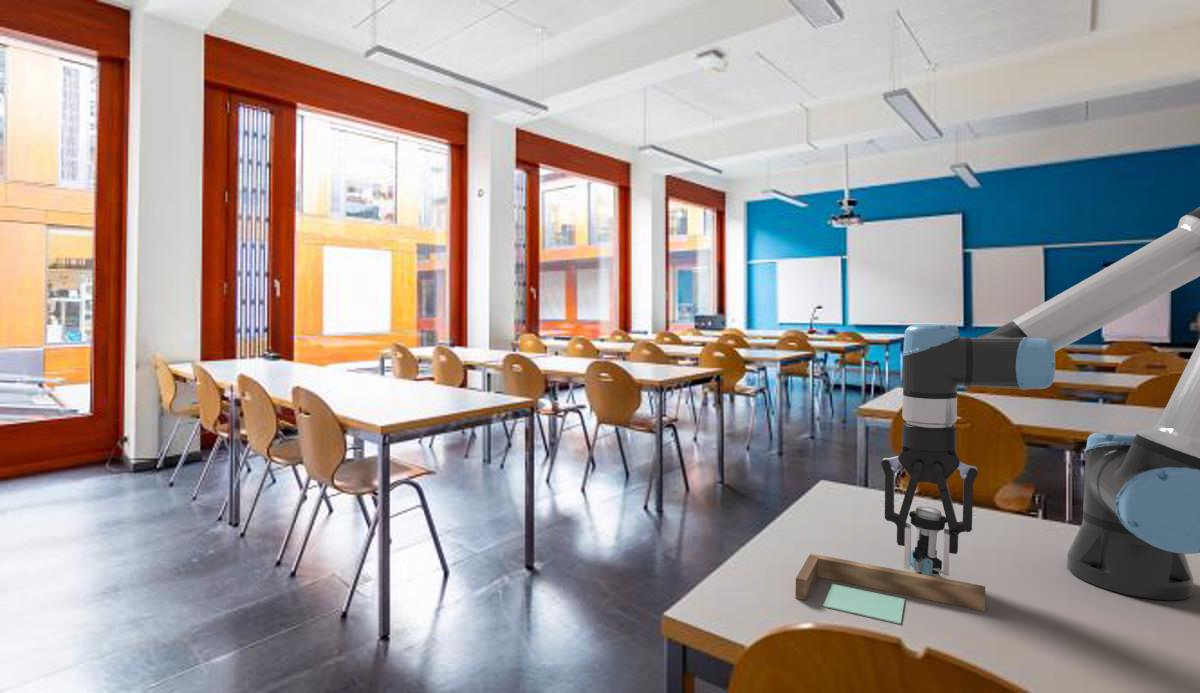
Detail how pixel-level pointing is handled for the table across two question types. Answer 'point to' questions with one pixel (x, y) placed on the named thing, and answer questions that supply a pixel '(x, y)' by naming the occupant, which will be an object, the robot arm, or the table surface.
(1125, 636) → the table surface
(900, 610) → the pad
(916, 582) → the wooden l-shaped wall
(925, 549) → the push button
